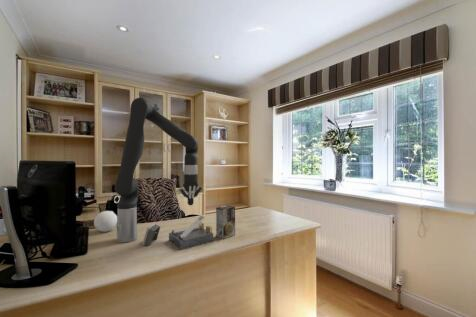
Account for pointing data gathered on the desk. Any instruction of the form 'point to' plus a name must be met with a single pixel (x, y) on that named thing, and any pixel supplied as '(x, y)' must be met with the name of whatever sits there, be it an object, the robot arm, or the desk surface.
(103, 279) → the desk surface
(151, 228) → the grey irregular chunk
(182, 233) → the near strap
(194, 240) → the clamp block
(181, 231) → the far strap
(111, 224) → the decorative ball
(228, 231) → the coffee box
